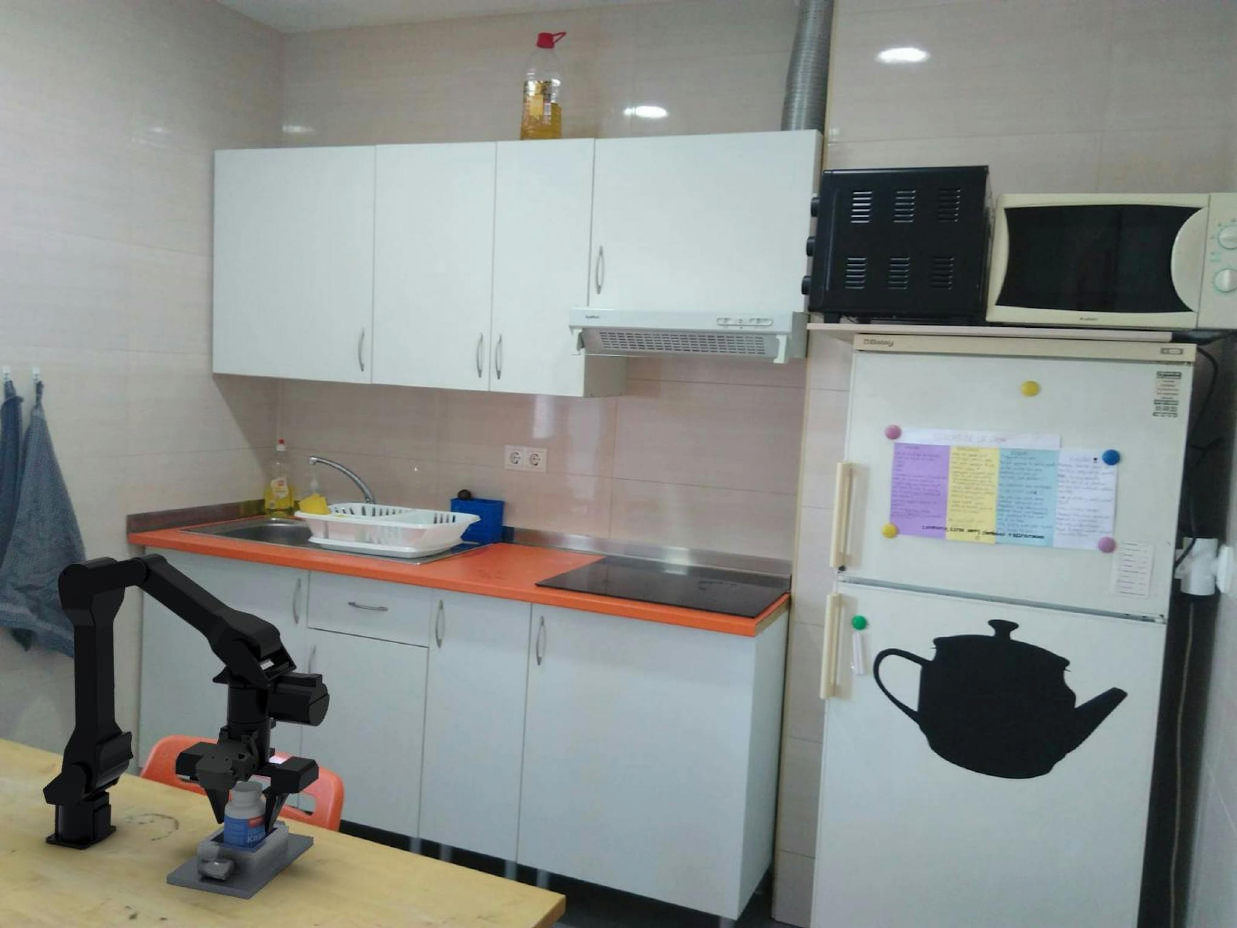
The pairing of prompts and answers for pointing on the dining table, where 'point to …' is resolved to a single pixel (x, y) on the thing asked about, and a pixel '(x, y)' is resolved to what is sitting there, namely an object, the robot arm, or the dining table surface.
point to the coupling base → (240, 862)
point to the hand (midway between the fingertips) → (244, 827)
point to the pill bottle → (245, 815)
